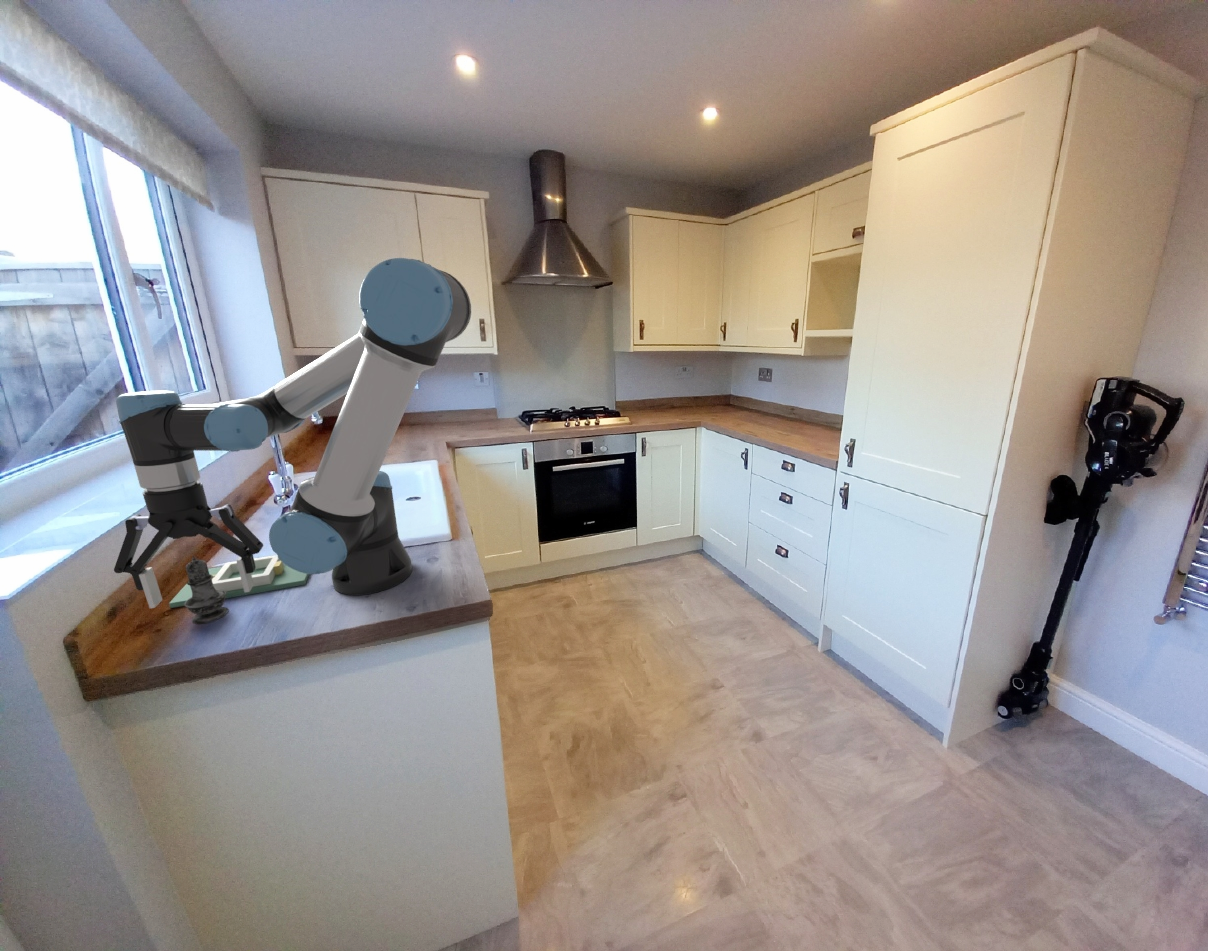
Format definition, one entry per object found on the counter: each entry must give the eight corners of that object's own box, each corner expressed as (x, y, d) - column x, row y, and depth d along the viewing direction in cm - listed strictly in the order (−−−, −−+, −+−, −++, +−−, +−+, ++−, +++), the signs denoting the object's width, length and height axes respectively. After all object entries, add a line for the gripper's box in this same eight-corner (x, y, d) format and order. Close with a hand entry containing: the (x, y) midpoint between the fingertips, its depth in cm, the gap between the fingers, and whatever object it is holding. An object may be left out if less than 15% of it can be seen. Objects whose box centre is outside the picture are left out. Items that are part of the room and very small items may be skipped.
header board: (316, 556, 108) (314, 544, 107) (305, 584, 95) (302, 571, 94) (199, 574, 100) (196, 561, 99) (170, 608, 87) (165, 594, 86)
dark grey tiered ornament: (238, 606, 88) (223, 548, 84) (214, 624, 82) (196, 563, 79) (206, 606, 88) (189, 549, 84) (180, 625, 82) (161, 564, 78)
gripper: (266, 471, 85) (289, 573, 92) (87, 487, 76) (125, 599, 82) (254, 482, 79) (280, 592, 85) (56, 501, 70) (101, 623, 76)
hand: (204, 596), depth 84 cm, fingers open, 13 cm apart
